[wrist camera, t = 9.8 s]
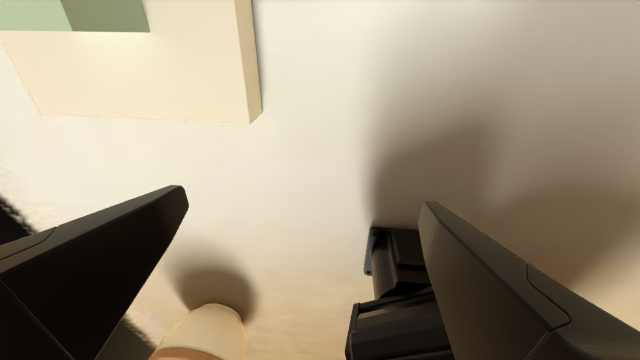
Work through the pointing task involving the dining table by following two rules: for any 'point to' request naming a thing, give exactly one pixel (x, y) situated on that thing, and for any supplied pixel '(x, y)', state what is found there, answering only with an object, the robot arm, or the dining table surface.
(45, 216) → the dining table surface
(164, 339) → the lidded jar
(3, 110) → the dining table surface
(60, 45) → the cream square slab
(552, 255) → the dining table surface
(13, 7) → the green cube
